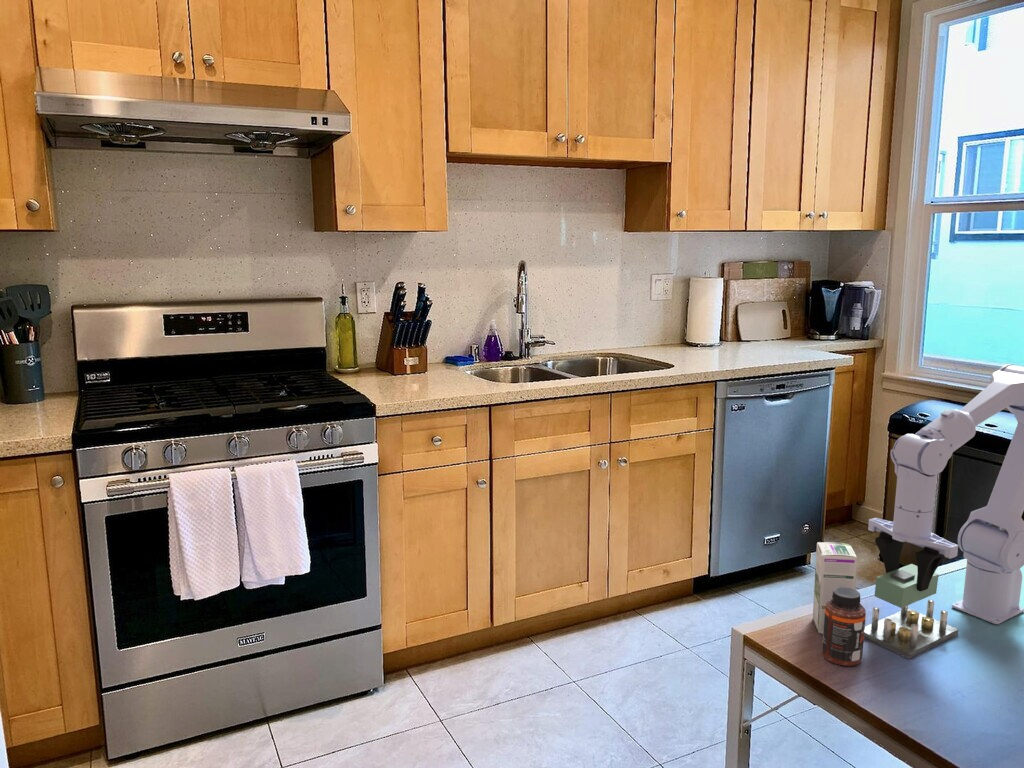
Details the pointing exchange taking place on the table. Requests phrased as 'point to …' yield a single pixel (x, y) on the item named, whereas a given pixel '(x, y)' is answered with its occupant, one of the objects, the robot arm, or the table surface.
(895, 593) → the green rectangular block
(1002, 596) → the robot arm
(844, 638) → the supplement bottle
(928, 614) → the chassis
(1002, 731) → the table surface
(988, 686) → the table surface
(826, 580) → the syrup box
